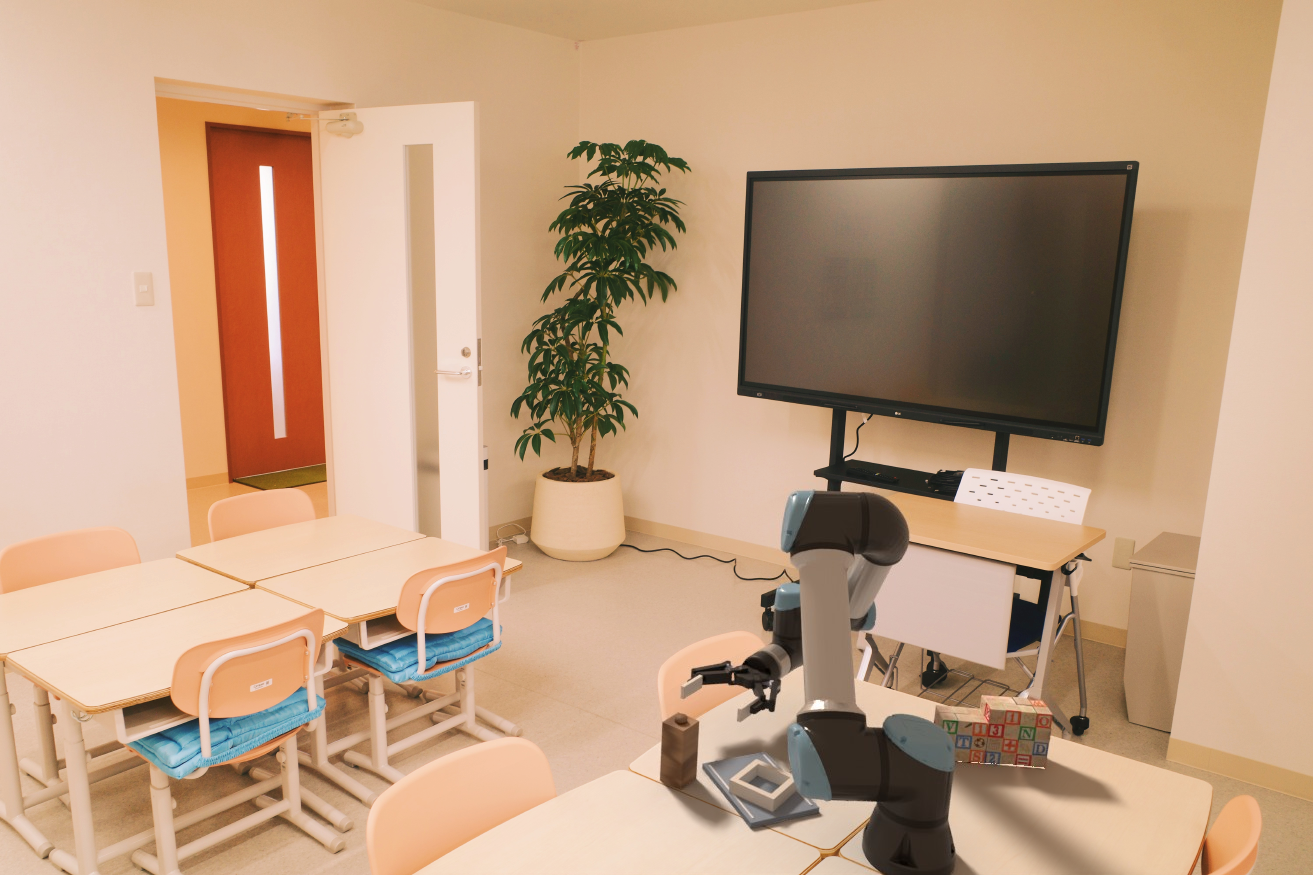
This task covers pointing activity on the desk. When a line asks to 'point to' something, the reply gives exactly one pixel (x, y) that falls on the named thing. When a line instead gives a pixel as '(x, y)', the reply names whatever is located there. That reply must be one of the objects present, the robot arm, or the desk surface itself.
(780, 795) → the socket collar
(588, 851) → the desk surface
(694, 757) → the pillar
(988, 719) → the stack of blocks
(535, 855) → the desk surface
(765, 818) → the board
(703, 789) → the desk surface
